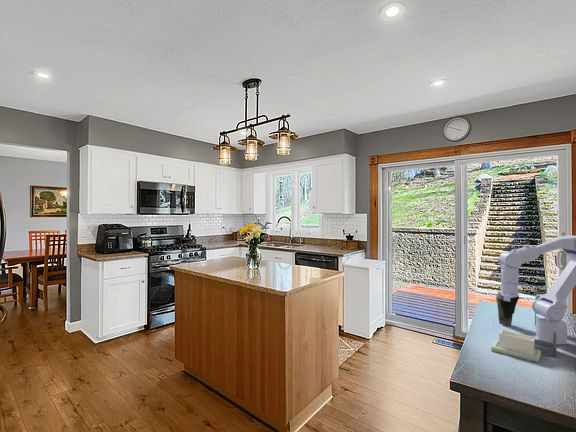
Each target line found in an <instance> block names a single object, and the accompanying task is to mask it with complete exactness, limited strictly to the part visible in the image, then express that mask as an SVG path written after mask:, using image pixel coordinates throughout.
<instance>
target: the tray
mask: <svg viewBox="0 0 576 432" xmlns="http://www.w3.org/2000/svg"><path fill="white" fill-rule="evenodd" d="M491 351H492V352H495V353H499V354H503V355H506V356H510V357H514V358H518V359H521V360H525V361H529V362H534V363H538V364H540V362H541V356H542V354H541V351H540V350H536V349H535V355H534V356H530V355H526V354H522V353H518V352H514V351H510V350H506V349H501V348H499V339H498V340H495V341H494V342H493V344H492V345H491Z"/></svg>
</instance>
